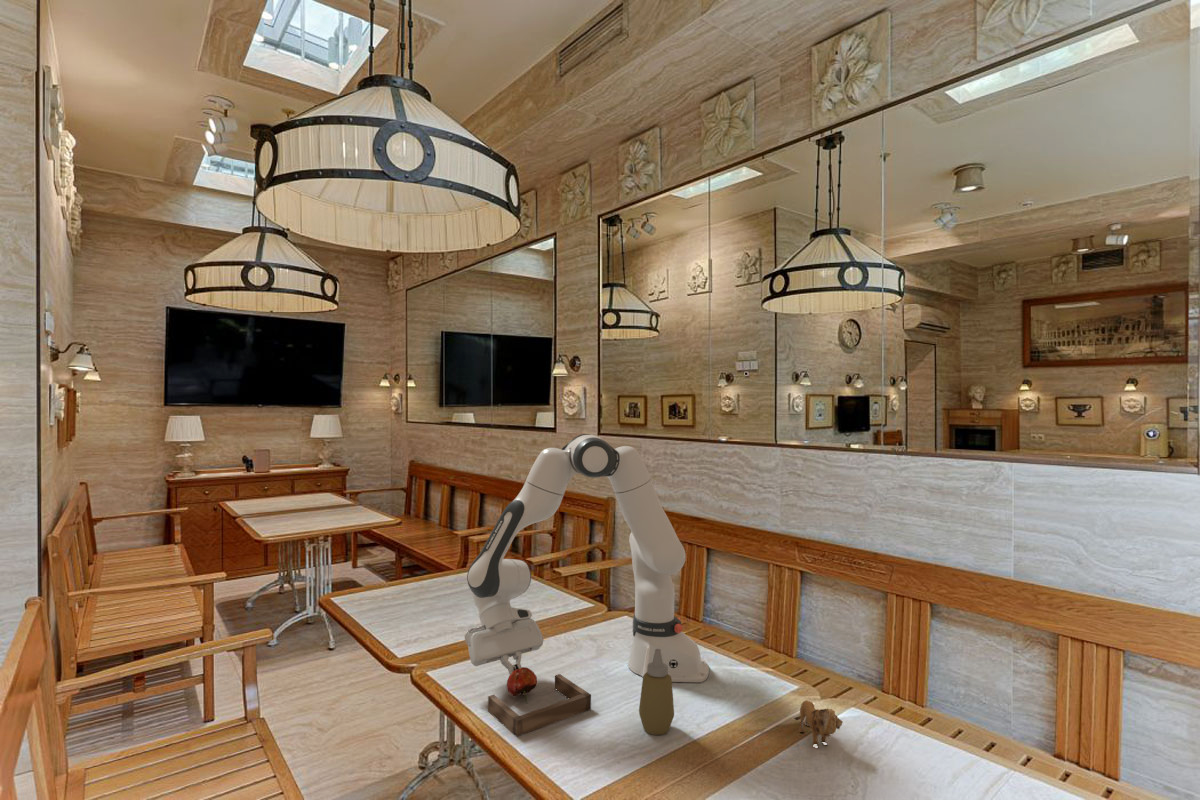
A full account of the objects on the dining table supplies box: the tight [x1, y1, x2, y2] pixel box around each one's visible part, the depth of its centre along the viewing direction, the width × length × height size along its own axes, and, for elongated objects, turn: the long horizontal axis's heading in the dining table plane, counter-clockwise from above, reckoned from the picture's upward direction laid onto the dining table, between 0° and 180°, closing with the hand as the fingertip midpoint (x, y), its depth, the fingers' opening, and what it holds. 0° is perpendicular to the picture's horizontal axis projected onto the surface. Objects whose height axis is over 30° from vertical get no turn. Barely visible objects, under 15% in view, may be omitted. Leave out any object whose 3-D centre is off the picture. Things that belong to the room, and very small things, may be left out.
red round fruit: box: [506, 663, 538, 703], centre depth 150 cm, size 7×7×10 cm
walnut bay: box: [487, 673, 592, 737], centre depth 144 cm, size 14×20×4 cm, turn 128°
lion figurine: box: [793, 699, 844, 745], centre depth 135 cm, size 15×5×9 cm, turn 16°
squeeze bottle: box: [638, 649, 675, 736], centre depth 137 cm, size 8×8×18 cm
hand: (516, 672), depth 153 cm, fingers closed, pressing on red round fruit
